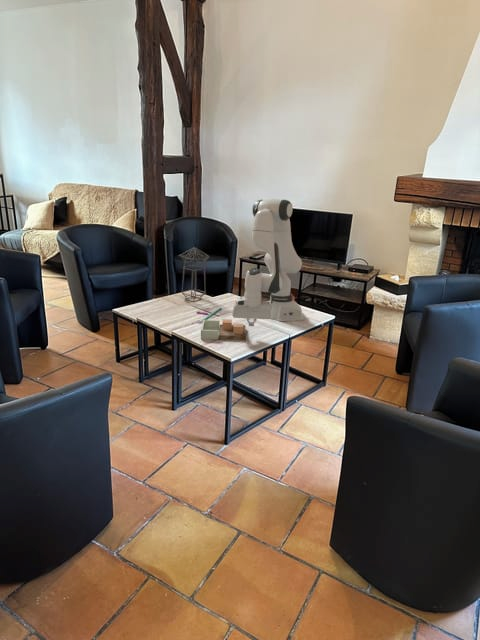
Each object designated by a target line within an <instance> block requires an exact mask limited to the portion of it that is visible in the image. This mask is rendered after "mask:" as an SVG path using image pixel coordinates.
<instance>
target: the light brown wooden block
mask: <svg viewBox="0 0 480 640" xmlns="http://www.w3.org/2000/svg"><path fill="white" fill-rule="evenodd" d="M221 325H222V329H223V330H232V325H233V319H227V318H226V319H222V323H221Z"/></svg>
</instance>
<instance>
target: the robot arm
mask: <svg viewBox="0 0 480 640" xmlns="http://www.w3.org/2000/svg"><path fill="white" fill-rule="evenodd" d="M251 209H252V215H253V217H254V219H253V223H252V229H251V242H252V244H253V245H254V246H255V247H256V248H258V249H259V250H261V251H263V252H265V255H264V258H263V259H264V261H263V262H264V263H265V265H266V267H267V269H268V271H269V273H263V272H262V270H260V269H259V268H249V269H248V270H247V271H246V274H245V279H244V294H243V296H241V297H240V296H239V297H236V298H235V302H234V304H233V309H232V317H233V319H234V318H235V319H246V321H247V324H248V327H255V323H256V322H257V320H258V319H259V320H276V321H278V322H297V321H300V322H301V321H305V319H306V315H305V313H303V312H302V311H303V310H302V307H301V305H300V304H298V303H297V302H296V301H295V299H296V298H295V295H293V294H292V293H291V288H292V287H291V286H292V285H291V283H292V280H291V279H290V278H289V276H288V275H287V274H297V273H299V272H300V270H301V268H302V266H303V261H302V259H301V257H300V256H298V254H297V252H296V249H295V247H294V244H293V241H292V232H291V231H292V230H291V229H292V227H291V221H290V218H291V217H292V215H293V204H292V203H291V201H289V200H288V199H278V198H276V199H275V198H272V199H258V200H255V202H254V204H253V205H252V208H251ZM262 292H264V293H269V294H270V297H269V299H270V300H269V301H266V300H262ZM250 319H253V321H252V322H251V321H250Z"/></svg>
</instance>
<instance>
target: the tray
mask: <svg viewBox="0 0 480 640" xmlns="http://www.w3.org/2000/svg"><path fill="white" fill-rule="evenodd" d="M202 320H203V319H202ZM220 321H221V320H219V319H216V320H215V319H205V320H203V321H202V322H201V323H202V324H201V326H200V327H201V328H200V340H206V341H207V340H212V341H213V340H214V341H215V340H216V341H218V340H219V329H220V325H221V324H220Z"/></svg>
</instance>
